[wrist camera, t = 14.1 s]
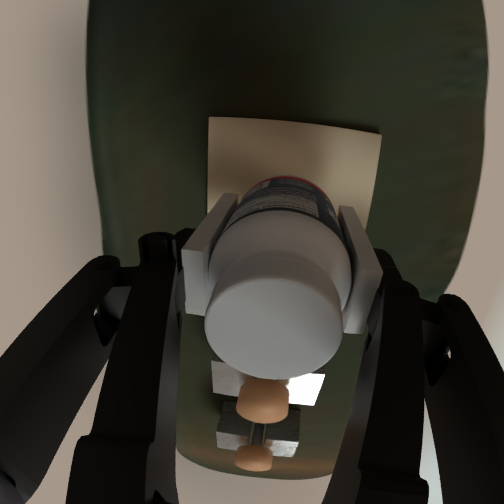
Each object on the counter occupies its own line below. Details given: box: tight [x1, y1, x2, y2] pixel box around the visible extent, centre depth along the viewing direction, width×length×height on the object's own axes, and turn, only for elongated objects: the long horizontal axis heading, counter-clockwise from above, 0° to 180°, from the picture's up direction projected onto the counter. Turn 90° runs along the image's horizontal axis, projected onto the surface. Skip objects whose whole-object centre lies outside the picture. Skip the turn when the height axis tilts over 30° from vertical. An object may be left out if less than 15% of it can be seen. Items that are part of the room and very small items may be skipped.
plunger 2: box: [234, 423, 273, 471], centre depth 26 cm, size 4×4×5 cm
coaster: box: [208, 117, 382, 230], centre depth 18 cm, size 10×10×1 cm
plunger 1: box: [236, 378, 290, 423], centre depth 21 cm, size 4×4×5 cm
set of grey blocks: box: [211, 352, 325, 457], centre depth 25 cm, size 15×8×4 cm, turn 177°
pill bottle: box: [204, 175, 352, 379], centre depth 12 cm, size 5×5×9 cm
